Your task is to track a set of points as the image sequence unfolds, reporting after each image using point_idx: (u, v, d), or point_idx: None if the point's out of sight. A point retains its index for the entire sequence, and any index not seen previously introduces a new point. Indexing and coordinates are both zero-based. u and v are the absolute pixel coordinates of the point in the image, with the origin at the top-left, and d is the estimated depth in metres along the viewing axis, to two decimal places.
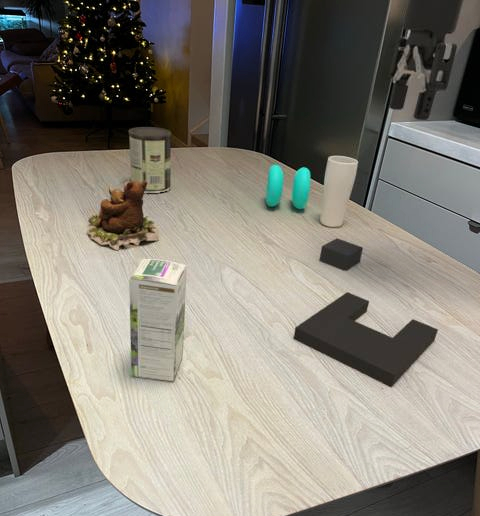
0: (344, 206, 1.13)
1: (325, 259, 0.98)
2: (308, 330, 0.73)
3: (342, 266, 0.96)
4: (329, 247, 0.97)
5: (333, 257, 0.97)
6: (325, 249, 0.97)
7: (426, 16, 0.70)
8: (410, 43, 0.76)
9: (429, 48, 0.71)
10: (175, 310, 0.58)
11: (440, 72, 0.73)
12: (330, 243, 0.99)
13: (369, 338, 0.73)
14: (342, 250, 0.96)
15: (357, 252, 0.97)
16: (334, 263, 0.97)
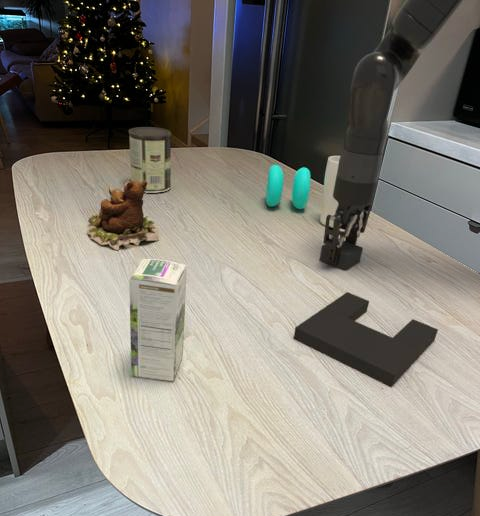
0: None
1: (325, 259, 0.98)
2: (308, 330, 0.73)
3: (342, 266, 0.96)
4: None
5: None
6: (325, 249, 0.97)
7: (335, 190, 0.91)
8: None
9: None
10: (175, 310, 0.58)
11: (345, 234, 0.93)
12: None
13: (369, 338, 0.73)
14: (342, 251, 0.96)
15: (357, 252, 0.97)
16: None
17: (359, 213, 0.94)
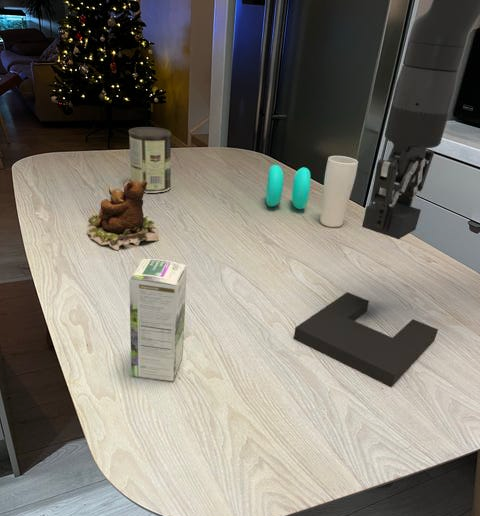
0: (344, 206, 1.13)
1: (370, 224, 0.74)
2: (308, 330, 0.73)
3: (394, 233, 0.72)
4: (376, 208, 0.73)
5: None
6: (371, 210, 0.73)
7: (389, 127, 0.67)
8: None
9: (389, 158, 0.68)
10: (175, 310, 0.58)
11: (401, 188, 0.68)
12: (377, 204, 0.74)
13: (369, 338, 0.73)
14: (394, 212, 0.72)
15: (414, 215, 0.73)
16: None
17: (420, 160, 0.69)
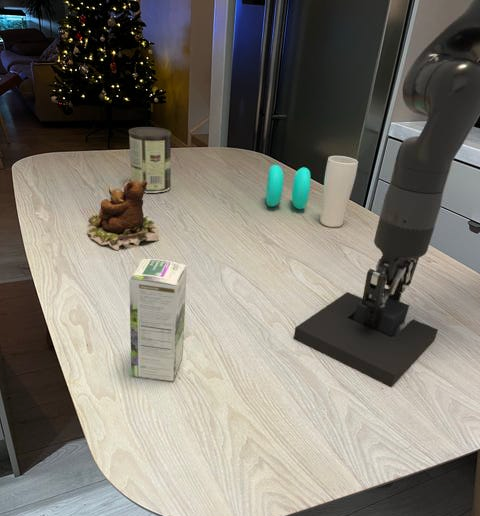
0: (344, 206, 1.13)
1: (361, 320, 0.77)
2: (308, 330, 0.73)
3: (384, 331, 0.75)
4: (367, 306, 0.76)
5: None
6: (362, 308, 0.76)
7: (378, 236, 0.70)
8: None
9: (378, 265, 0.71)
10: (175, 310, 0.58)
11: (390, 292, 0.71)
12: None
13: (369, 338, 0.73)
14: (384, 311, 0.75)
15: (403, 312, 0.76)
16: None
17: (408, 264, 0.72)
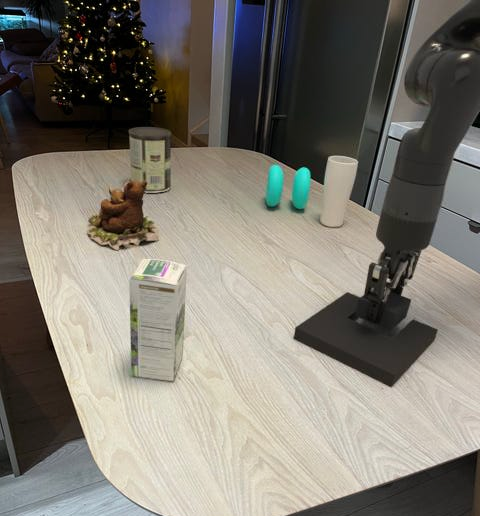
0: (344, 206, 1.13)
1: (363, 315, 0.76)
2: (308, 330, 0.73)
3: (386, 325, 0.74)
4: (369, 300, 0.75)
5: None
6: (363, 302, 0.75)
7: (380, 229, 0.69)
8: None
9: (380, 259, 0.70)
10: (175, 310, 0.58)
11: (392, 286, 0.71)
12: None
13: (369, 338, 0.73)
14: (386, 305, 0.74)
15: (405, 306, 0.75)
16: None
17: (410, 258, 0.72)
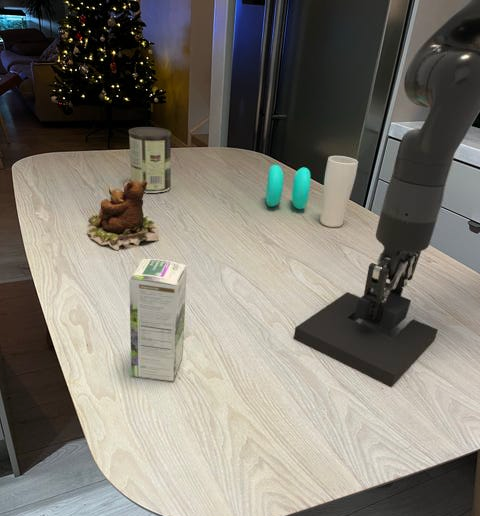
0: (344, 206, 1.13)
1: (363, 315, 0.76)
2: (308, 330, 0.73)
3: (386, 326, 0.74)
4: (368, 300, 0.75)
5: None
6: (363, 302, 0.75)
7: (380, 230, 0.69)
8: None
9: (380, 259, 0.70)
10: (175, 310, 0.58)
11: (391, 286, 0.71)
12: None
13: (369, 338, 0.73)
14: (385, 306, 0.74)
15: (404, 307, 0.75)
16: None
17: (409, 259, 0.72)
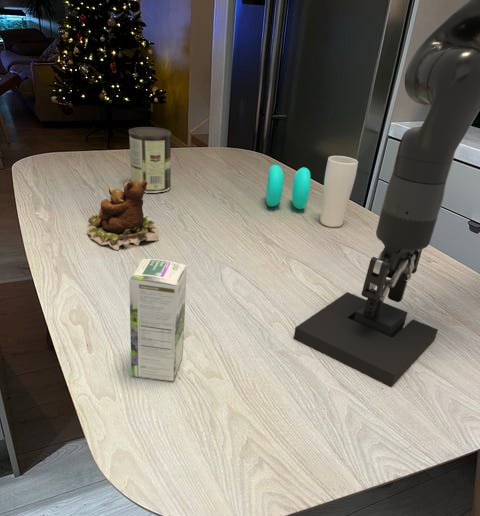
0: (344, 206, 1.13)
1: None
2: (308, 330, 0.73)
3: None
4: None
5: (371, 327, 0.76)
6: (360, 315, 0.76)
7: (380, 228, 0.69)
8: None
9: (380, 258, 0.70)
10: (175, 310, 0.58)
11: (391, 283, 0.70)
12: None
13: (369, 338, 0.73)
14: (382, 318, 0.75)
15: (401, 319, 0.76)
16: None
17: (410, 257, 0.72)
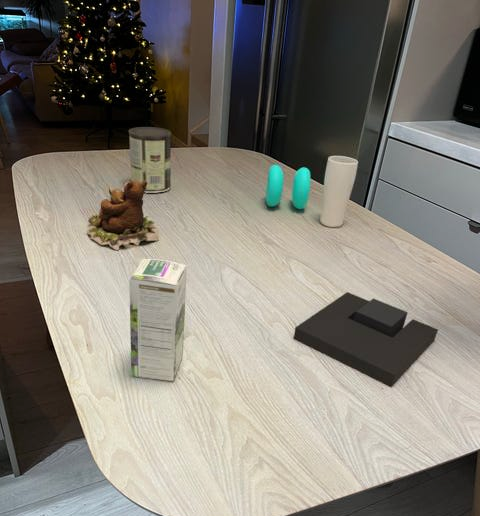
0: (344, 206, 1.13)
1: None
2: (308, 330, 0.73)
3: None
4: (365, 313, 0.76)
5: (371, 327, 0.76)
6: (360, 315, 0.76)
7: None
8: None
9: None
10: (175, 310, 0.58)
11: None
12: (366, 306, 0.78)
13: (369, 338, 0.73)
14: (382, 318, 0.75)
15: (401, 319, 0.76)
16: None
17: None
